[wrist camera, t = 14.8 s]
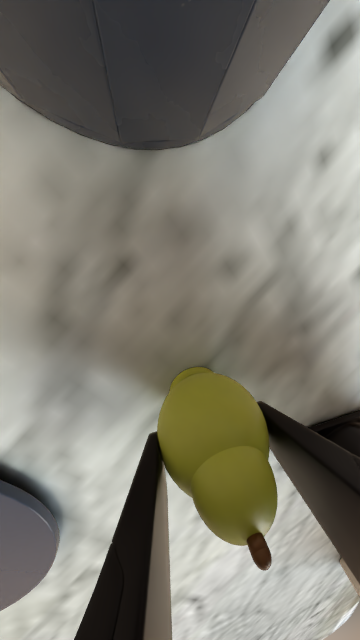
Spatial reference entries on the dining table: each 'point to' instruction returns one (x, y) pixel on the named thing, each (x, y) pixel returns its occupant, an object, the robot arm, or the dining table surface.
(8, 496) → the tin lid
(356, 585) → the coffee cup
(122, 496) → the dining table surface
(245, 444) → the pear
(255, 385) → the dining table surface
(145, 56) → the tin
